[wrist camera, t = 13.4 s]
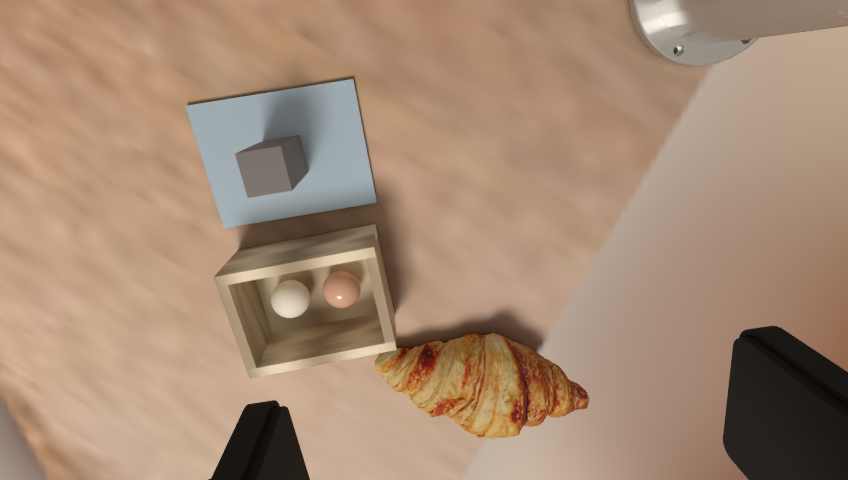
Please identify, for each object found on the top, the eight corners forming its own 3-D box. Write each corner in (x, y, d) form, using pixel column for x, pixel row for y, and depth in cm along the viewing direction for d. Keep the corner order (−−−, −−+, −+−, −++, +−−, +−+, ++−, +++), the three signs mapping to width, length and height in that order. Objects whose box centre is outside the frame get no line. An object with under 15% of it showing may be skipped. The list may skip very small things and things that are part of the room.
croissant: (371, 357, 48) (360, 434, 42) (386, 302, 41) (375, 386, 35) (560, 386, 50) (573, 462, 45) (605, 339, 43) (627, 423, 38)
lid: (353, 79, 36) (345, 77, 28) (377, 200, 39) (375, 227, 32) (189, 105, 35) (138, 110, 28) (226, 225, 39) (190, 258, 31)
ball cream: (307, 271, 40) (301, 286, 37) (316, 303, 41) (311, 320, 38) (271, 277, 39) (262, 293, 36) (281, 310, 41) (273, 328, 38)
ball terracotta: (357, 261, 40) (355, 276, 37) (365, 294, 41) (363, 310, 38) (321, 268, 40) (315, 283, 37) (329, 301, 41) (325, 318, 38)
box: (375, 223, 39) (373, 247, 34) (395, 314, 42) (396, 349, 37) (238, 249, 39) (213, 277, 33) (267, 339, 42) (249, 378, 36)
